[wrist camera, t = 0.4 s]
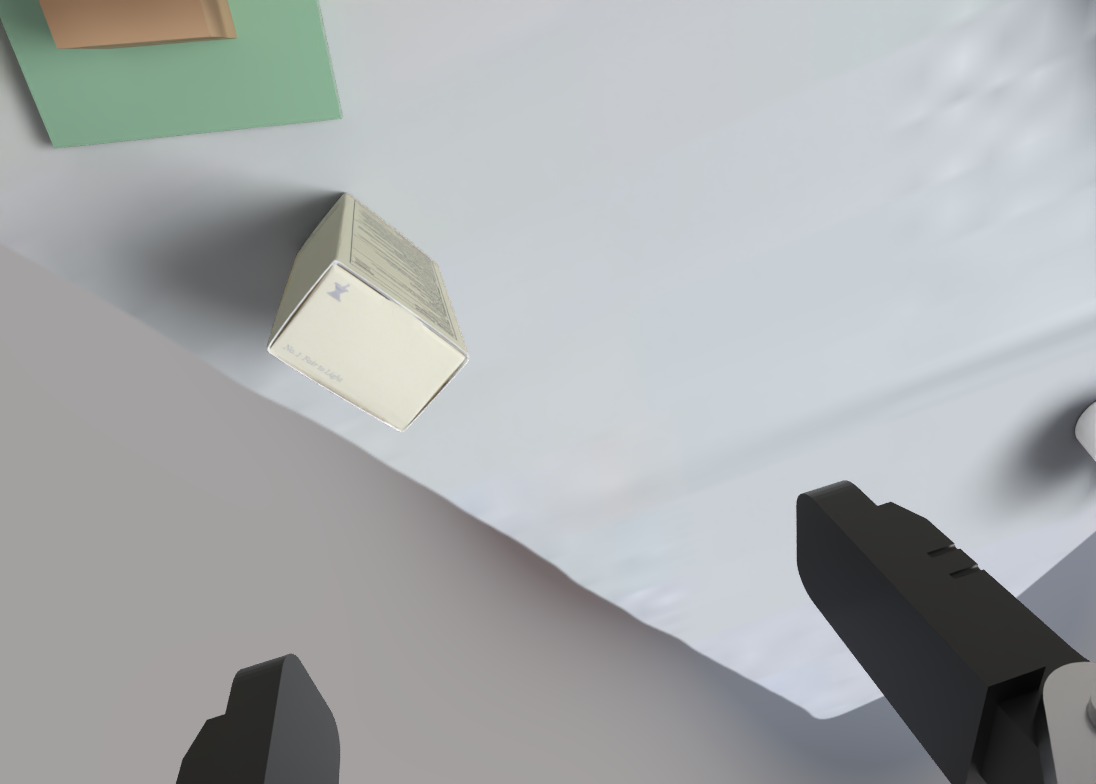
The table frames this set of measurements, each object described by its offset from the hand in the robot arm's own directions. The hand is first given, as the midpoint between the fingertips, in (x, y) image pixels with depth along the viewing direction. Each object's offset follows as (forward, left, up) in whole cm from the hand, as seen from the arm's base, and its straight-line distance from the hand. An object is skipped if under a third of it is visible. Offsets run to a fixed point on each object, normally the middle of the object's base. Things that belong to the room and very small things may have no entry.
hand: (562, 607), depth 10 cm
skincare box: (+2, -4, -28) cm, 28 cm away
